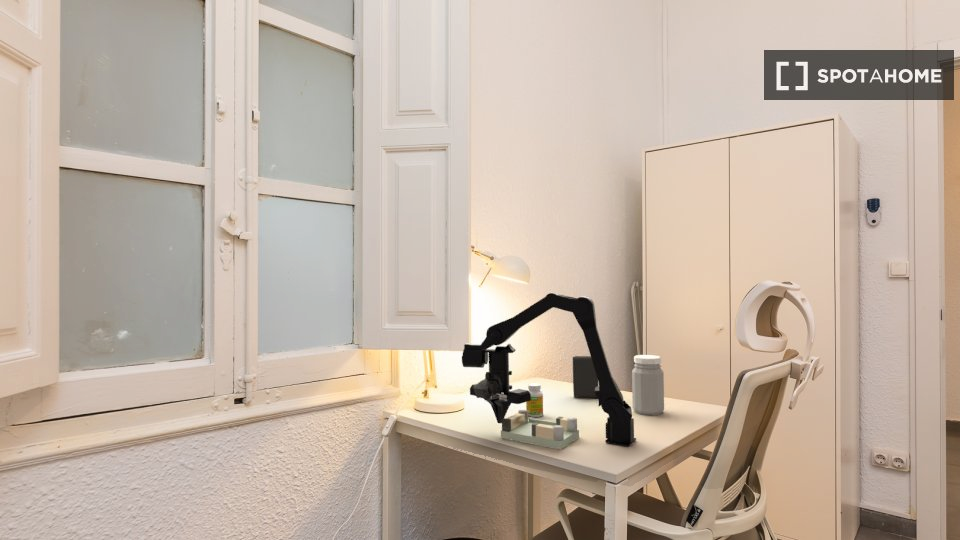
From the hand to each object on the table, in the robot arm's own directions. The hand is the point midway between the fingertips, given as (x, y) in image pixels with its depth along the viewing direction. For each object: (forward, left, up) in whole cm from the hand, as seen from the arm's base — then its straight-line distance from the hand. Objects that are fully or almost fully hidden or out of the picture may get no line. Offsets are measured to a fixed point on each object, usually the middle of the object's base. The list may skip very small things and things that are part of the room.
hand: (499, 423), depth 143 cm
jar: (-29, -44, -3) cm, 53 cm away
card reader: (-4, -53, -3) cm, 54 cm away
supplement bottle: (+1, -22, -3) cm, 22 cm away
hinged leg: (-4, -2, -1) cm, 5 cm away
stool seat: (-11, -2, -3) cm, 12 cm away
